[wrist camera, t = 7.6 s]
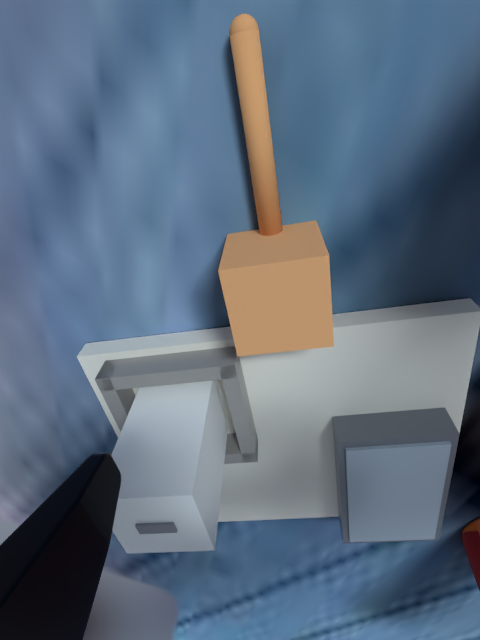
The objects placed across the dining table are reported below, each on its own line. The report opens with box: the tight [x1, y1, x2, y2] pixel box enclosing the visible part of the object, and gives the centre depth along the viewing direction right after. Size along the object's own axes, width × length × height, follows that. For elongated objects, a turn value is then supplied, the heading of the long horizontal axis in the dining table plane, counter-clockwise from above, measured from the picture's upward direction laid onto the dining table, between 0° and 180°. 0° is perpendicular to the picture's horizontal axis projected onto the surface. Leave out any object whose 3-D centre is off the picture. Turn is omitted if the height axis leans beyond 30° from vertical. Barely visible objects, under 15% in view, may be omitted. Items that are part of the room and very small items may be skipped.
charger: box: [111, 380, 228, 554], centre depth 18 cm, size 4×4×7 cm
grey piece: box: [332, 407, 459, 543], centre depth 22 cm, size 6×10×2 cm, turn 10°
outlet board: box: [77, 298, 480, 522], centre depth 22 cm, size 20×16×3 cm
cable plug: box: [218, 14, 334, 357], centre depth 14 cm, size 4×12×4 cm, turn 10°
